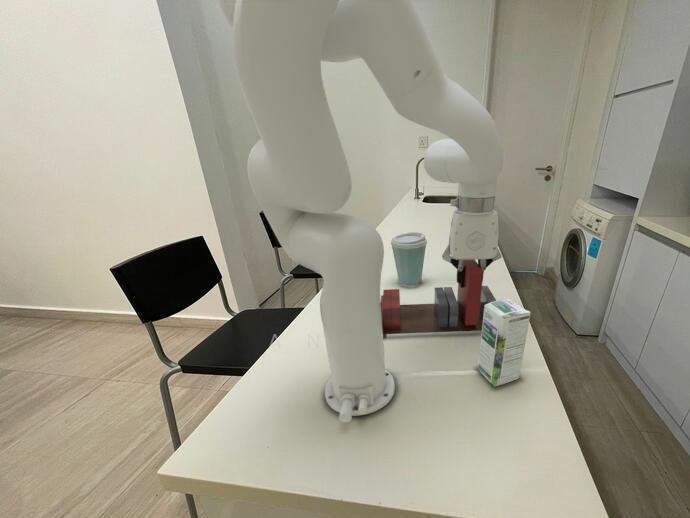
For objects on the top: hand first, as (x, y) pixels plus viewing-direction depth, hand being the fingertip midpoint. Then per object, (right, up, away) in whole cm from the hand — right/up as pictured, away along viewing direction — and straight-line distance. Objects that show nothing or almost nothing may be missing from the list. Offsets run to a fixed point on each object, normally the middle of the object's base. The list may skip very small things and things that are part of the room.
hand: (469, 284), depth 77 cm
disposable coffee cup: (-13, +1, +25) cm, 29 cm away
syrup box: (+3, -18, -14) cm, 23 cm away
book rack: (-7, -9, +5) cm, 12 cm away
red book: (0, -7, +3) cm, 8 cm away
